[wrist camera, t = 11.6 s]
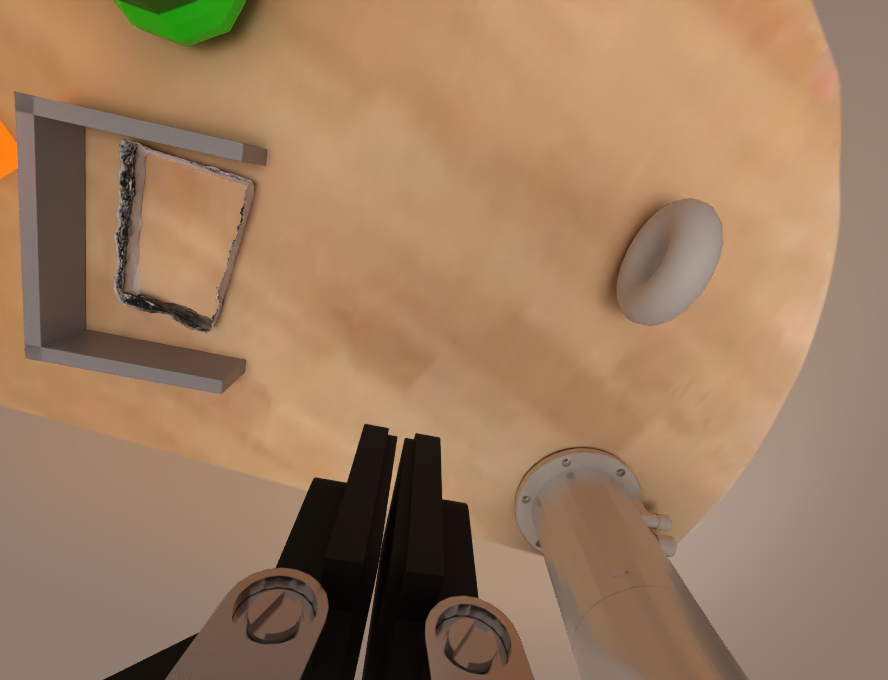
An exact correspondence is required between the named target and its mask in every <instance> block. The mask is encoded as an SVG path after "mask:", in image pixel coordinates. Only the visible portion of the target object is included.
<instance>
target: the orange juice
mask: <svg viewBox="0 0 888 680" xmlns="http://www.w3.org/2000/svg"><path fill="white" fill-rule="evenodd" d="M17 168H18V166H17V143H16V142H15V140H14V139H13V138H12V136H11V135H10V134H9V132H8V131H7V129H6V128H5V127H4V125H3V124H2V123H1V121H0V179H1V178H2V177H4V176H6V175H7V174H9V173H10V172H12V171H14V170H15V169H17Z"/></svg>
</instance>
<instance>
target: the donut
mask: <svg viewBox="0 0 888 680" xmlns="http://www.w3.org/2000/svg"><path fill="white" fill-rule="evenodd" d="M722 245H723V230H722V222H721V220H720V218H719V217H718V215H717V213H716V211H715V210H714V208H713V207H712V206H710V205H709V204H707V203H705V202H702V201H699V200H696V199H691V198H690V199H683V200H679V201H675V202H672V203H670V204H668V205H666V206H665V207H663V208H662V209H660V210H659V211H657V212H656V213H655V214H654V215H653V216H652V217H651V218H650V219H649V220H648V221H647V222H646V223H645V224H644V225H643V227H642V228H641V230H640V231H639V232H638V234H637V235H636V236H635V238H634V240H633V241H632V243H631V245H630V247H629V248H628V250H627V252H626V255H625V257H624V259H623V262H622V264H621V268H620V271H619V275H618V279H617V289H616V295H617V300H618V305H619V308H620V309H621V310H622V312H623V313H624V314H625V315H626V317H627V318H628V319H629V320H631V321H632V322H635V323H639V324H643V325H648V326H653V325H658V324H661V323H665V322H668V321H670V320H672V319H674V318H675V317H677V316H678V315H679V314H681V313H682V312H684V311H685V310H686V309H687V308H688V307H689V306H690V305H691V304H692V303H693V302H694V301H695V300H696V299H697V298H698V297H699V296H700V294H701V293H702V291H703V290H704V288H705V287H706V285H707V284H708V282H709V281H710V279H711V277H712V275H713V272H714V270H715V268H716V266H717V264H718V261H719V258H720V254H721V249H722Z"/></svg>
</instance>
